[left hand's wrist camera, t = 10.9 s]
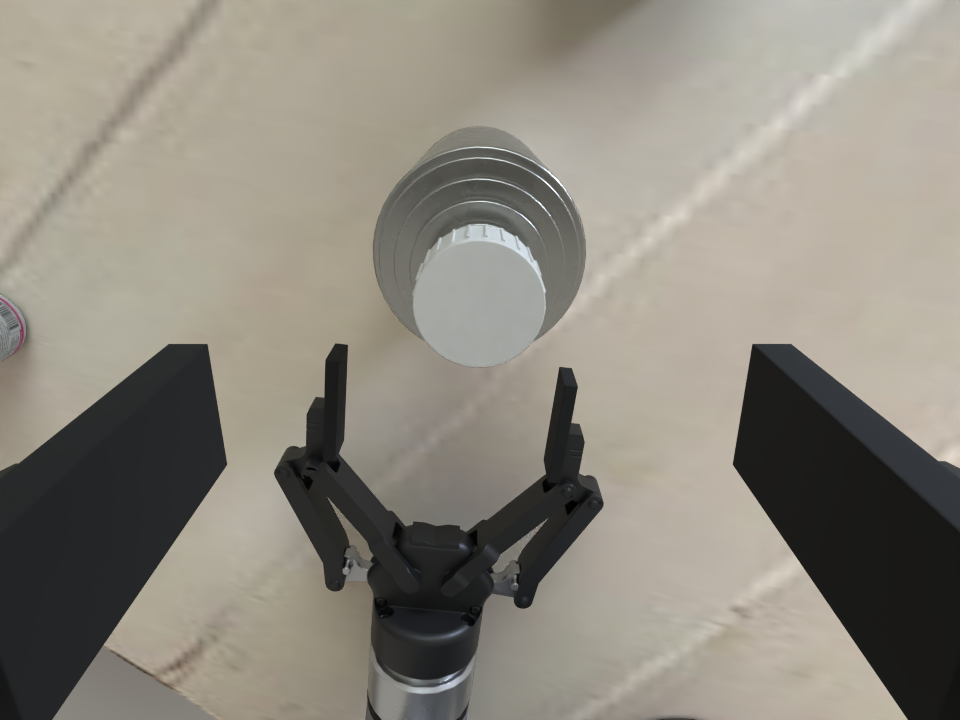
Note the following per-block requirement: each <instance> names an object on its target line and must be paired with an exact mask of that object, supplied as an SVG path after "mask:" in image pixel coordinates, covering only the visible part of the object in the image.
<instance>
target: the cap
mask: <svg viewBox="0 0 960 720" xmlns="http://www.w3.org/2000/svg"><path fill="white" fill-rule="evenodd" d="M541 277H542V275H541V272H540V269H539V266H538V264H537V261H536V260H535V261H534V259H533V257H532V255H531V252H530V249H529V247H525V245H524V244H523V243H522V242H521V241H520V240H518V237H517V236H513V235H512V234H510V233H508V232H506V231H504V229H503V228H501V229H499V228H496V227H491V226H487V224H485V225H474V226H471V224H469V225H468V226H467V227H463V228H460V229H457V230H455V229H453V230H452V232H450V233H449V234H447V235H445V236H444V237H443V238H441V237H440V238H439V239H438V242H437V243H436V244H435V245H434V246H433V247H432V248H431V250H430V249H428V251H427V254H426V257H425V260H424V262H423V263H421V265H420V268H419V271H418V273H417V276H416V279H415V280H417V282H416V285H415V288H414V291H413V293H412V296H413V312H414V318H415V321H416V325H417V327H418V329H419V332H420V333H421V335H422V337H423V338H424V340H425V341H426V342H427V344H428V345H429V346H430V347H431V348H432V349H433V350H434V351H435V352H437V353H438V354H439V355H441V356H442V357H444V358H445V359H447V360H449V361H451V362H454V363H456V364H460V365H463V366H468V367H490V366H495V365H499V364H502V363H505V362H507V361H509V360H511V359H513V358H515V357H516V356H518V355H519V354H521V353H522V352H523V351H524V350H525V349H527V347H528V346H529V345H530V344H531V343H532V342H533V340H534V339H535V337H536V336H537V334H538V332H539V330H540V328H541V326H542V323H543V320H544V315H545V310H546V301H545V293H546V290H545V287H544V284H543V281H542V278H541Z"/></svg>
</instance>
